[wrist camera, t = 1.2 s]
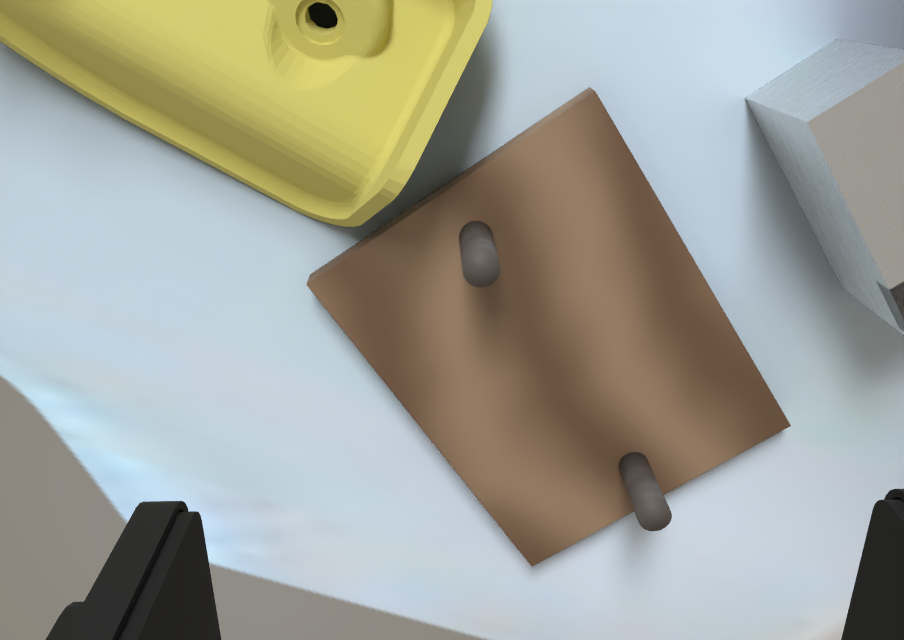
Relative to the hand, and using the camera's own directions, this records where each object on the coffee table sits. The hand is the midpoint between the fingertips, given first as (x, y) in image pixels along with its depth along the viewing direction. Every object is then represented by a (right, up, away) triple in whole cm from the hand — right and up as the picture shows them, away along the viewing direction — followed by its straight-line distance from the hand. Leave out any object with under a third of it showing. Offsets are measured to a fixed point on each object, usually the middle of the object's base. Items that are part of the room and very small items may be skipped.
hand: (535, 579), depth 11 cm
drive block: (+15, +10, +23) cm, 29 cm away
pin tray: (+4, +2, +25) cm, 26 cm away
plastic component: (-10, +17, +19) cm, 28 cm away
